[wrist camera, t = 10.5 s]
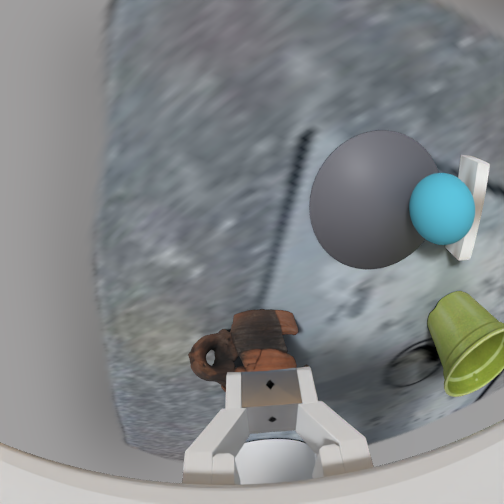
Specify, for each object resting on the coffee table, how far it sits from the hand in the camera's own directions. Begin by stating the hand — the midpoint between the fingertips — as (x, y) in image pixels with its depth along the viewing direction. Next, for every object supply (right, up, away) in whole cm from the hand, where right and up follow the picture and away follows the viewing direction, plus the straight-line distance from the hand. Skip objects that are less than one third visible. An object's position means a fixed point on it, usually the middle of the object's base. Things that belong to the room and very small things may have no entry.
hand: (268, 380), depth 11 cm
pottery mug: (-1, -4, +20) cm, 20 cm away
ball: (+14, +8, +10) cm, 19 cm away
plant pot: (+21, -2, +19) cm, 29 cm away
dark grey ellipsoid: (+10, +9, +13) cm, 18 cm away
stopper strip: (+18, +9, +13) cm, 24 cm away
